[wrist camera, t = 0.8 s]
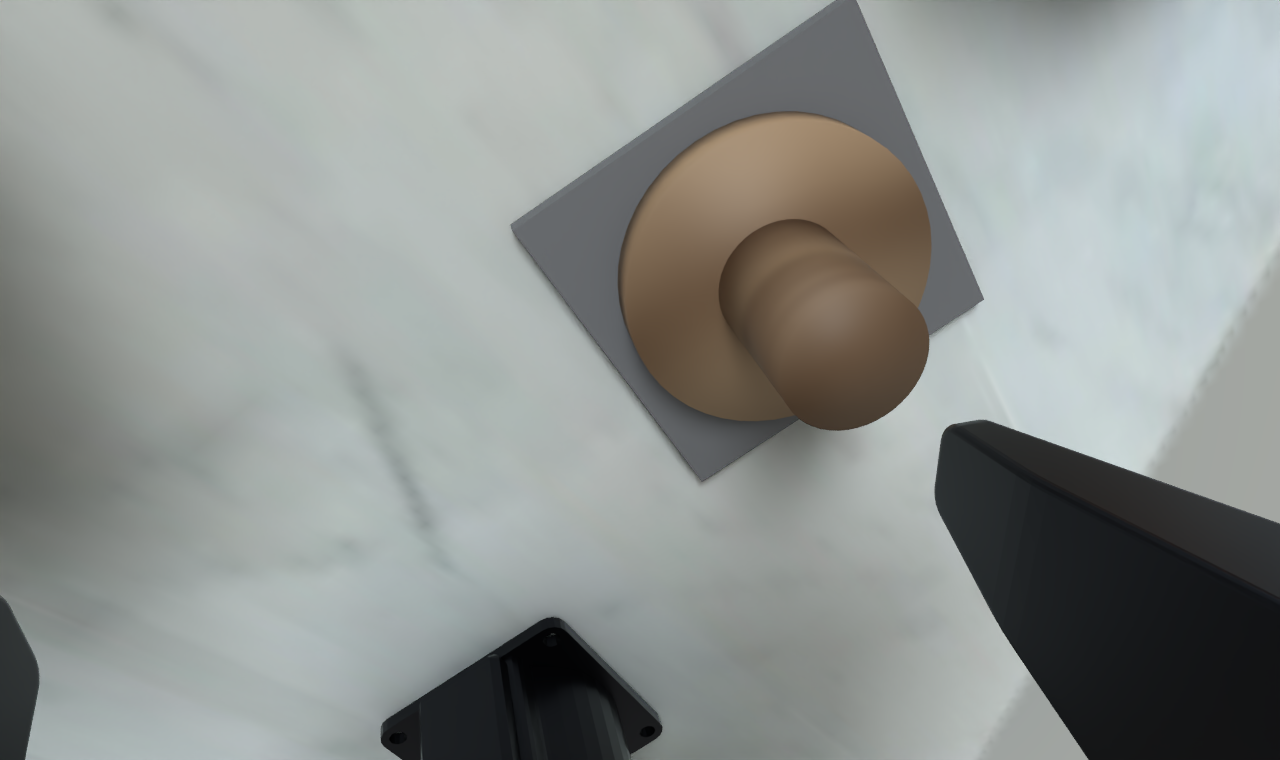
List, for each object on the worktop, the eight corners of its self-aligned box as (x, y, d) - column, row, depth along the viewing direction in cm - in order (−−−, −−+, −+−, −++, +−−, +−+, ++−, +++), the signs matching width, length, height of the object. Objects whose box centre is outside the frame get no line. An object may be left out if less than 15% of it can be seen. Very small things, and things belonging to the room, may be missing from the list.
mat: (975, 293, 25) (983, 299, 25) (698, 473, 26) (702, 481, 25) (846, -7, 20) (854, -5, 20) (510, 224, 21) (512, 230, 21)
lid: (952, 294, 24) (1070, 386, 20) (711, 450, 25) (776, 572, 21) (839, 42, 20) (956, 92, 16) (555, 236, 21) (597, 333, 17)
